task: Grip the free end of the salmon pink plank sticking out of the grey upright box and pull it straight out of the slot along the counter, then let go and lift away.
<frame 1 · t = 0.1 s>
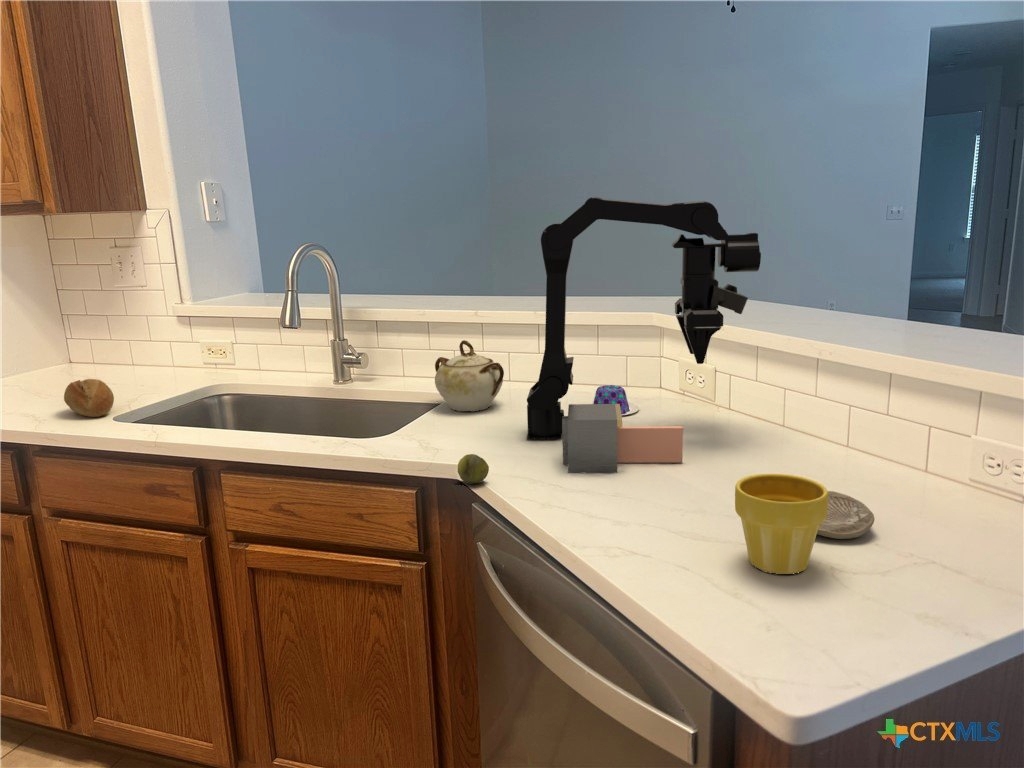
hand: (696, 358, 141), 15 cm above the worktop, tool pointing down, fingers open, 9 cm apart
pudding: (610, 412, 164), on the worktop
plant pot: (777, 564, 93), on the worktop
fossil: (826, 529, 103), on the worktop
bread roll: (91, 414, 177), on the worktop
lime: (473, 484, 124), on the worktop
grey upright box: (592, 462, 131), on the worktop
salmon pink plank: (628, 444, 130), point 3 cm above the worktop, slide at 0.0 cm
sugar bowl: (470, 408, 170), on the worktop
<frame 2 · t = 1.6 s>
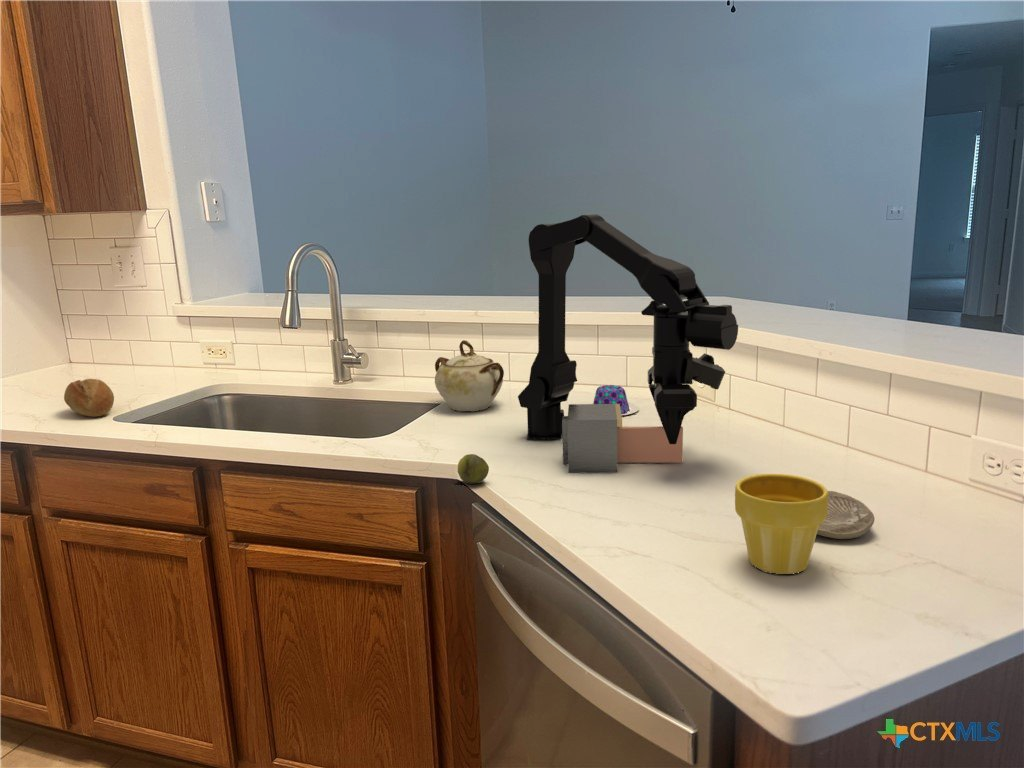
hand: (669, 435, 129), 5 cm above the worktop, tool pointing down, fingers open, 9 cm apart
nothing on the worktop moved.
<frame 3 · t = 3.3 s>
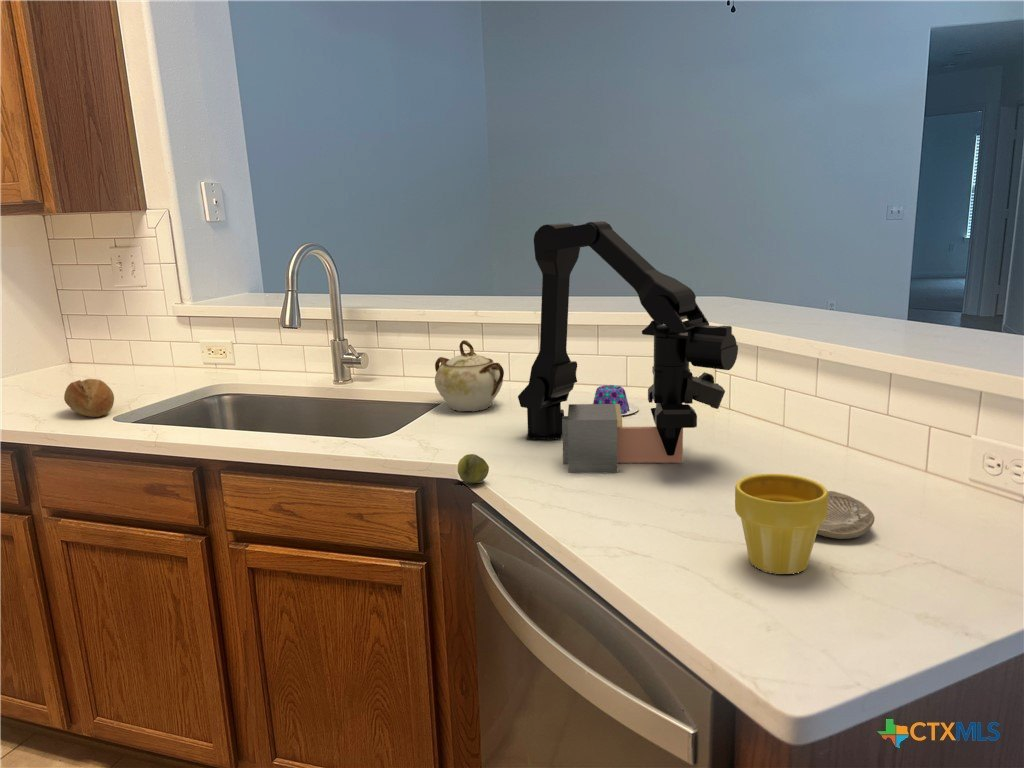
hand: (670, 454, 130), 2 cm above the worktop, tool pointing down, fingers closed on salmon pink plank
salmon pink plank: (628, 444, 130), point 3 cm above the worktop, slide at 0.0 cm, touching gripper
everything else where it was.
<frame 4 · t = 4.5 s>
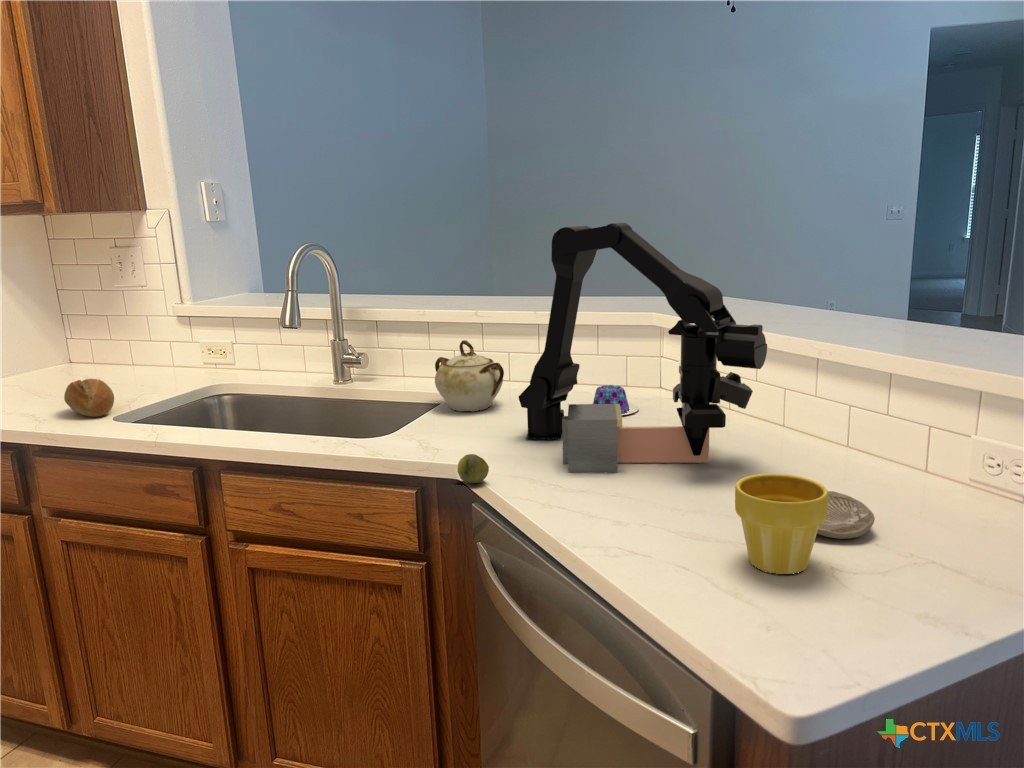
hand: (696, 453, 129), 2 cm above the worktop, tool pointing down, fingers closed on salmon pink plank
salmon pink plank: (654, 444, 130), point 3 cm above the worktop, slide at 4.3 cm, touching gripper
everything else where it was.
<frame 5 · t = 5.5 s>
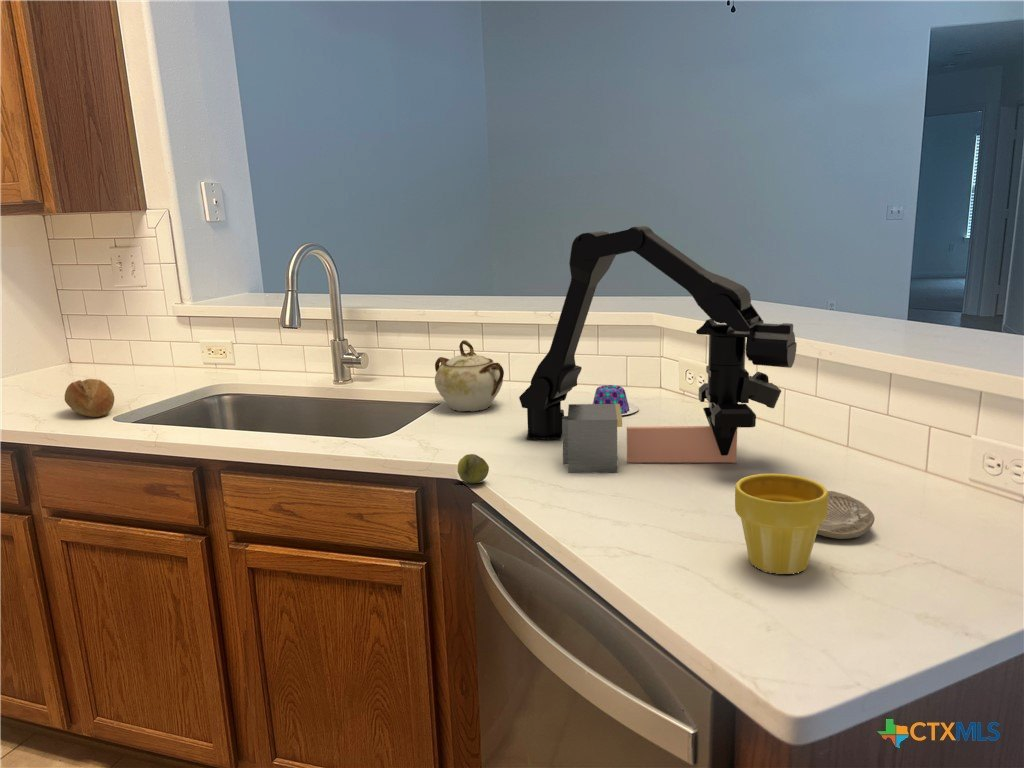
hand: (723, 453, 129), 2 cm above the worktop, tool pointing down, fingers closed on salmon pink plank
salmon pink plank: (681, 444, 129), point 3 cm above the worktop, slide at 8.8 cm, touching gripper
everything else where it was.
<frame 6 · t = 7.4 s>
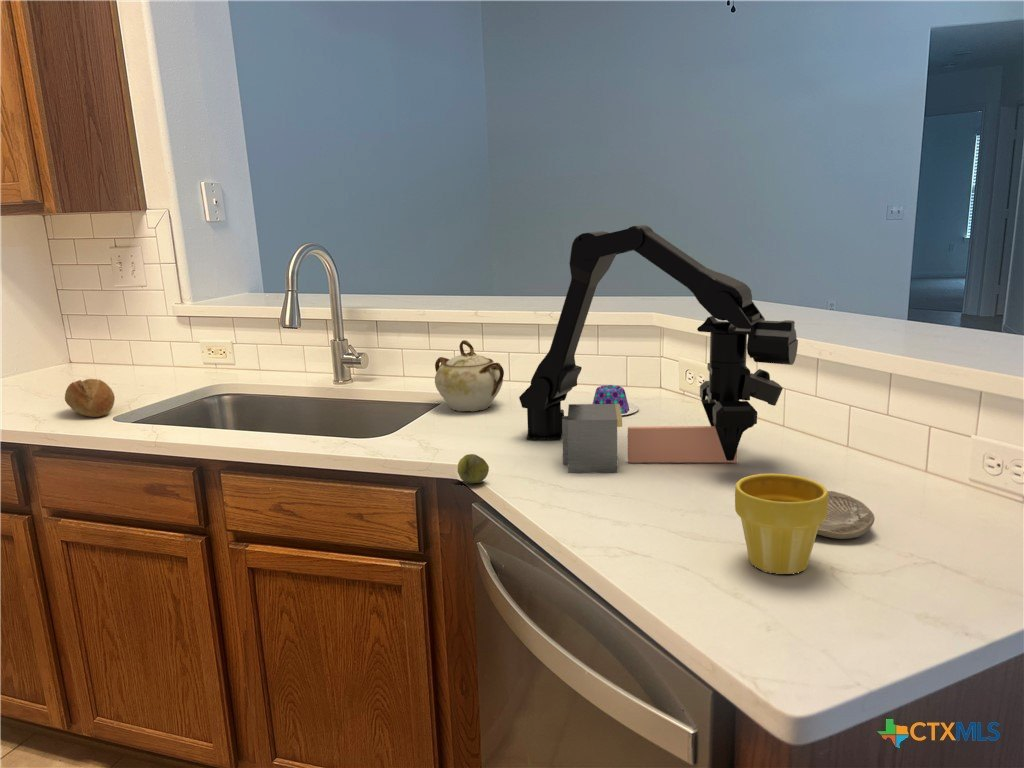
hand: (724, 451, 129), 2 cm above the worktop, tool pointing down, fingers open, 9 cm apart
salmon pink plank: (682, 444, 129), point 3 cm above the worktop, slide at 9.0 cm
everything else where it was.
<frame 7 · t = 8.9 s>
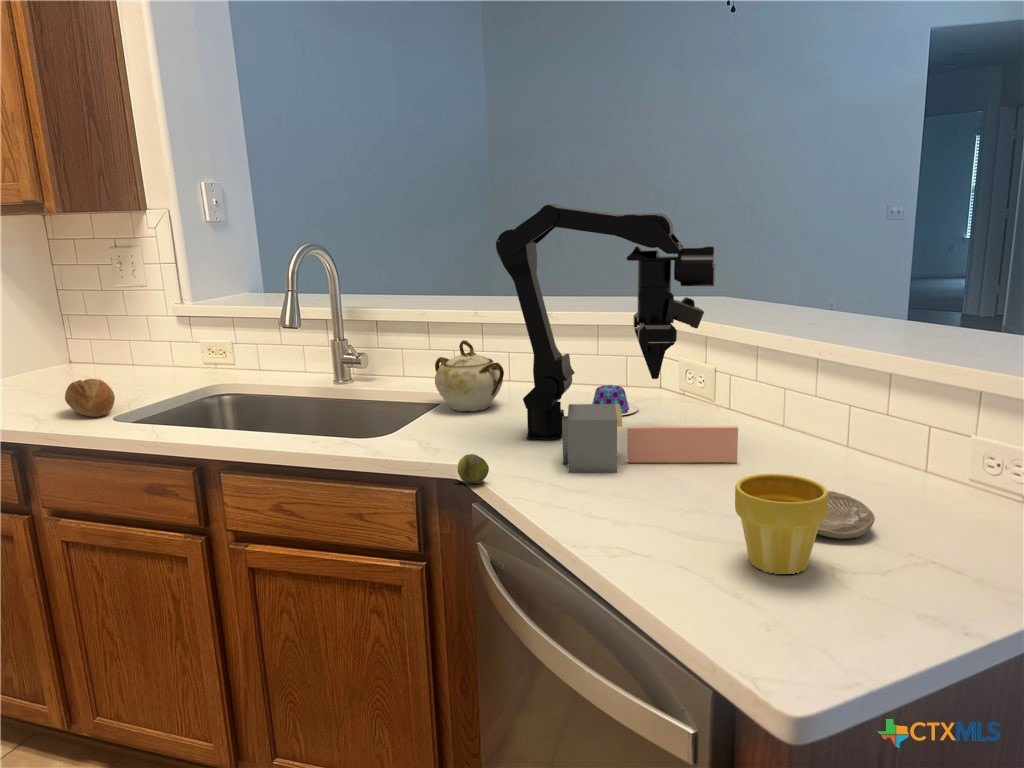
hand: (653, 373, 139), 13 cm above the worktop, tool pointing down, fingers open, 9 cm apart
nothing on the worktop moved.
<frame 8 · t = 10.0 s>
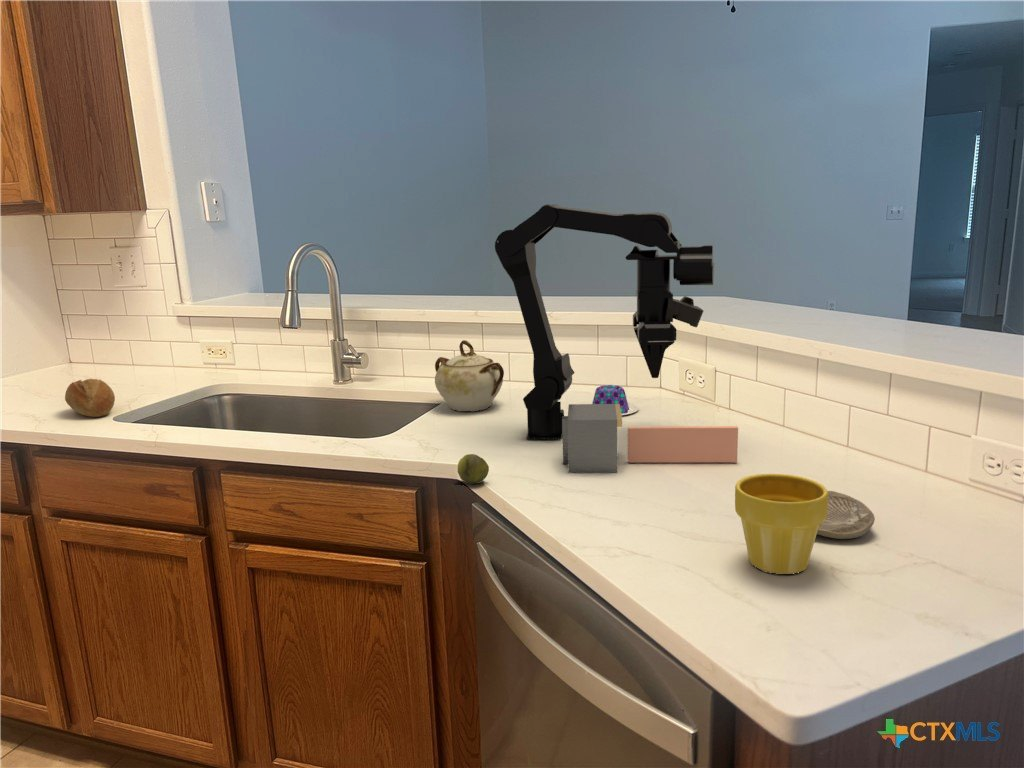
hand: (652, 372, 139), 13 cm above the worktop, tool pointing down, fingers open, 9 cm apart
nothing on the worktop moved.
at the end: salmon pink plank slide at 9.0 cm; the gripper is holding nothing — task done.
